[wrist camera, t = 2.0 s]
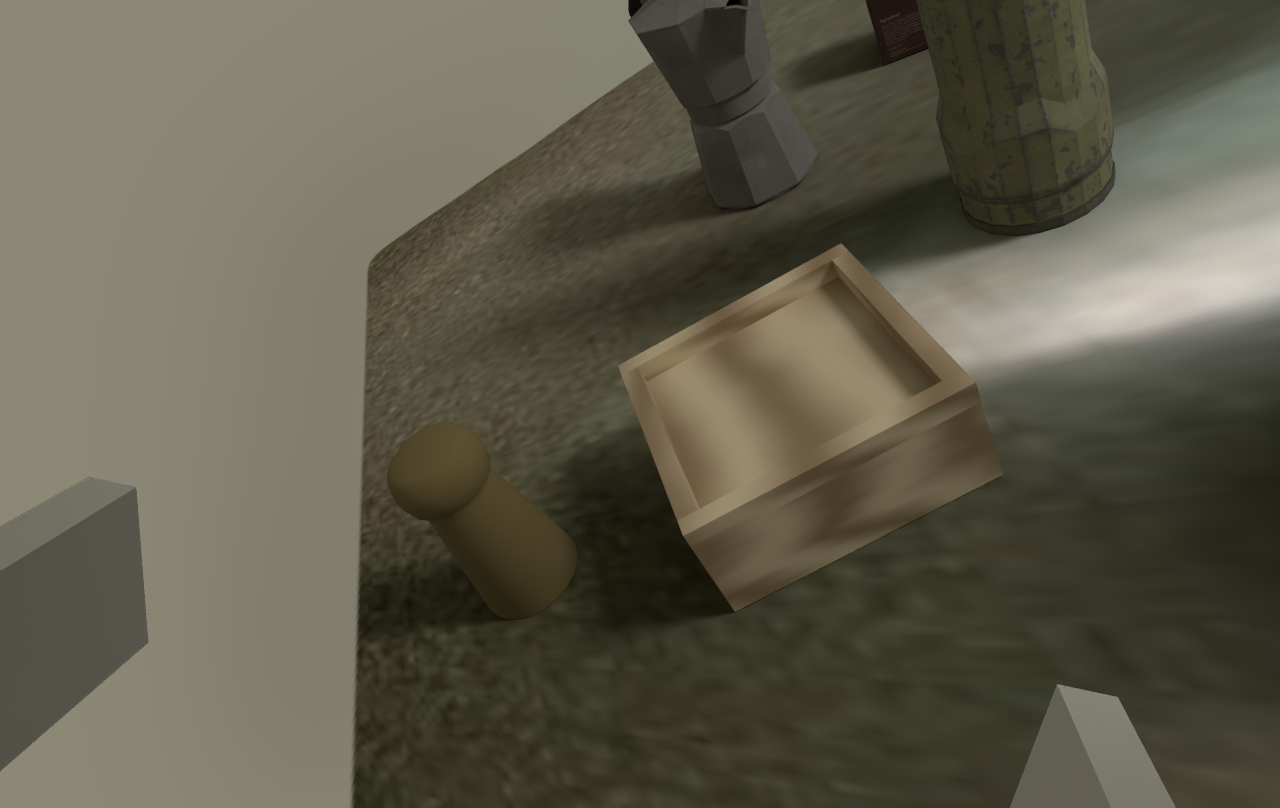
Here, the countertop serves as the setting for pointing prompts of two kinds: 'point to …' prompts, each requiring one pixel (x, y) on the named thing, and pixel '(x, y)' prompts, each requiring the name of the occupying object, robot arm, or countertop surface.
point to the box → (897, 27)
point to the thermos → (1021, 110)
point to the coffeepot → (727, 95)
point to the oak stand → (806, 425)
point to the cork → (483, 520)
